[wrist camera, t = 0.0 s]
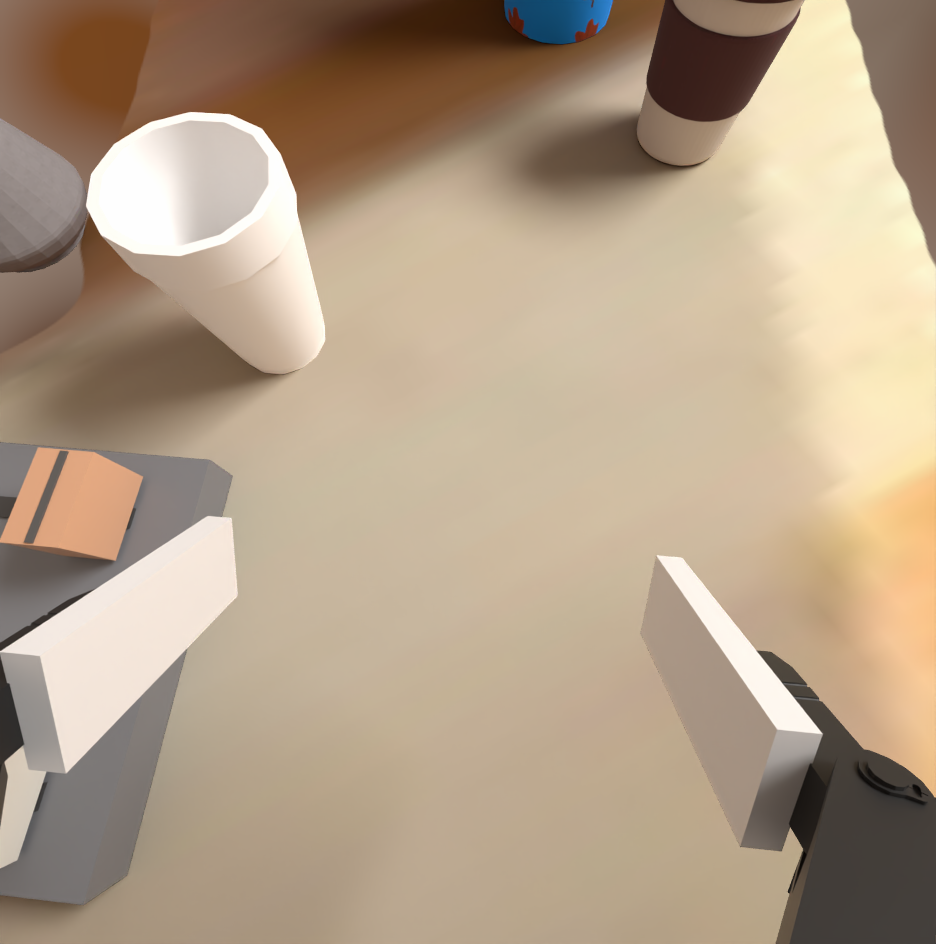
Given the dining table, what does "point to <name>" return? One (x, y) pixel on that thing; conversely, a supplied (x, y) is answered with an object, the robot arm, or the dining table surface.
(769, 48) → the coffee cup
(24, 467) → the slider panel
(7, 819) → the fader
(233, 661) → the dining table surface
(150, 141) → the foam cup
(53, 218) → the coffee pot
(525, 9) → the thermos
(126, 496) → the fader
